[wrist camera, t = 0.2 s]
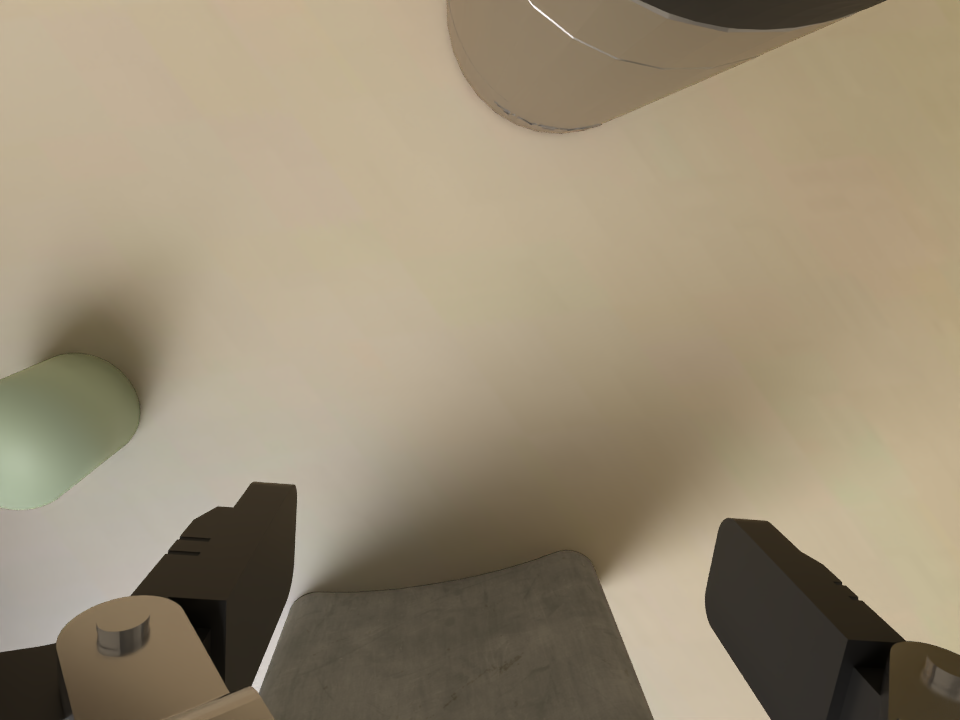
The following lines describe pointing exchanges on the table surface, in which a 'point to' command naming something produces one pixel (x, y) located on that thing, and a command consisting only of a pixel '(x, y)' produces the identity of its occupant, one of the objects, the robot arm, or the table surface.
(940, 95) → the table surface
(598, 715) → the hip flask
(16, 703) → the robot arm
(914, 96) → the table surface
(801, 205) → the table surface
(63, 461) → the rounded mint cylinder
